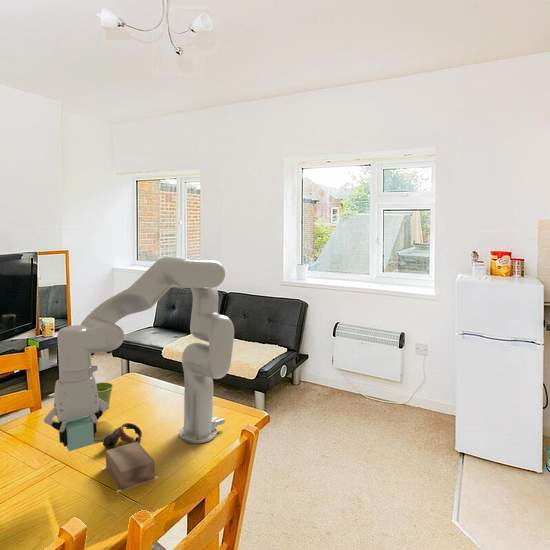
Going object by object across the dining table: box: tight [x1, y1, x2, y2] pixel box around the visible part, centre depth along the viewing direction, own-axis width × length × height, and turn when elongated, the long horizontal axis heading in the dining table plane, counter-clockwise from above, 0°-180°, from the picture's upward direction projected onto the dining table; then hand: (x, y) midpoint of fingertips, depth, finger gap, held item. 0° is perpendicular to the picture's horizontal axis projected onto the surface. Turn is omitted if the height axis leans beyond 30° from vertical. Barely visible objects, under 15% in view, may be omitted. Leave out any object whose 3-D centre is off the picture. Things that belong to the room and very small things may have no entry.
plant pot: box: [96, 381, 114, 411], centre depth 157 cm, size 9×9×9 cm
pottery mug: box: [102, 422, 143, 450], centre depth 129 cm, size 12×10×8 cm
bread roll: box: [94, 420, 117, 441], centre depth 138 cm, size 8×9×4 cm
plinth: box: [105, 442, 156, 491], centre depth 114 cm, size 9×13×5 cm
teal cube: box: [65, 415, 95, 452], centre depth 108 cm, size 6×6×6 cm
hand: (78, 439), depth 108 cm, fingers closed on teal cube, 6 cm apart
